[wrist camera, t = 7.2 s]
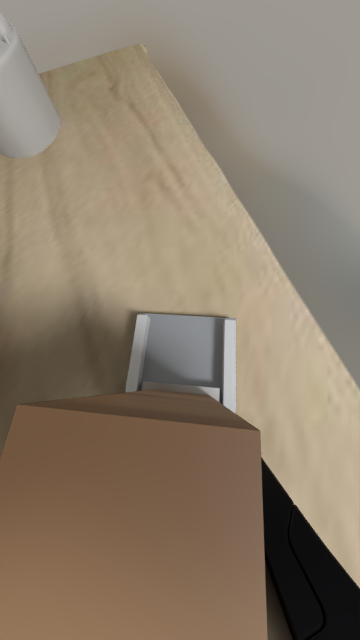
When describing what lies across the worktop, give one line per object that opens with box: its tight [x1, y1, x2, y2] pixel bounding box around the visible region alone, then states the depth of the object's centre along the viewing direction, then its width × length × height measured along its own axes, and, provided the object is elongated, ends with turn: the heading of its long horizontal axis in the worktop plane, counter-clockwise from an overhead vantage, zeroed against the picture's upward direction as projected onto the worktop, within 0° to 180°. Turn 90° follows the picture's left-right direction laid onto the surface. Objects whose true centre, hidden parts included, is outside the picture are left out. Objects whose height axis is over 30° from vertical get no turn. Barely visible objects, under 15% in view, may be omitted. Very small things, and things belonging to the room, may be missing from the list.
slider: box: [125, 313, 236, 414], centre depth 14 cm, size 15×8×2 cm, turn 175°
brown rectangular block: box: [0, 381, 268, 640], centre depth 8 cm, size 5×5×12 cm
